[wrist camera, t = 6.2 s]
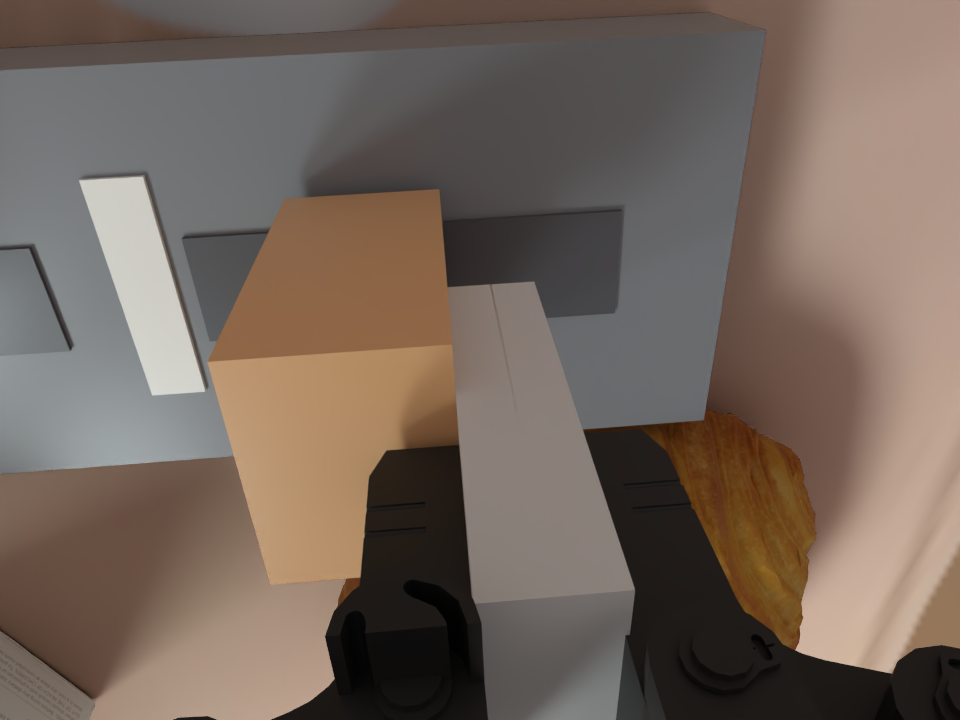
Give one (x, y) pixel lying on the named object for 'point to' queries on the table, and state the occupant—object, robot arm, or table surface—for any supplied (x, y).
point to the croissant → (741, 512)
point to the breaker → (335, 369)
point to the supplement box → (36, 688)
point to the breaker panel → (360, 170)
